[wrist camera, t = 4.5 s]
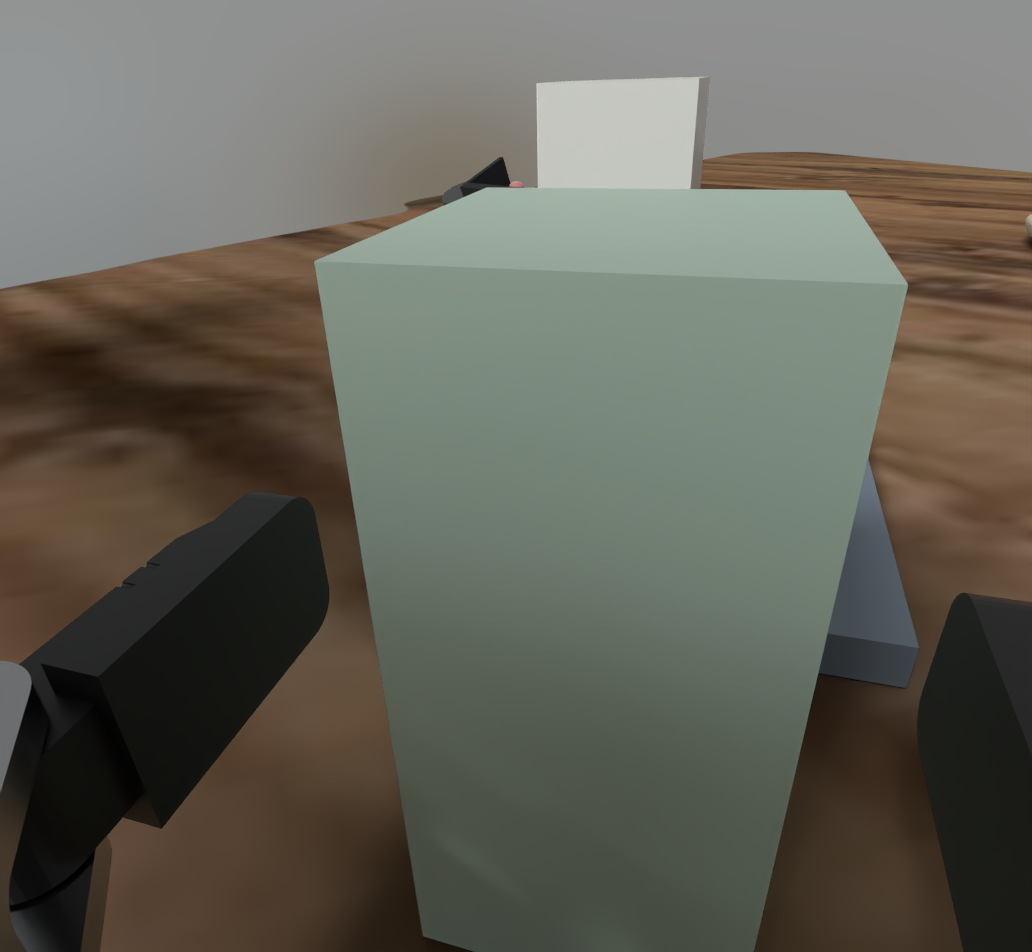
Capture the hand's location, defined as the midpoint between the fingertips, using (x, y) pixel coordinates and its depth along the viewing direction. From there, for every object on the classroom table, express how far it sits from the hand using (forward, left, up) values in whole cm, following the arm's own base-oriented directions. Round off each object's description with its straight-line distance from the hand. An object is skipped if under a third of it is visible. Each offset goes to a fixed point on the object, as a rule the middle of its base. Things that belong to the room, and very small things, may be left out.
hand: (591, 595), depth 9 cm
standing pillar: (-13, +16, -5) cm, 21 cm away
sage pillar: (-1, +1, -7) cm, 7 cm away
